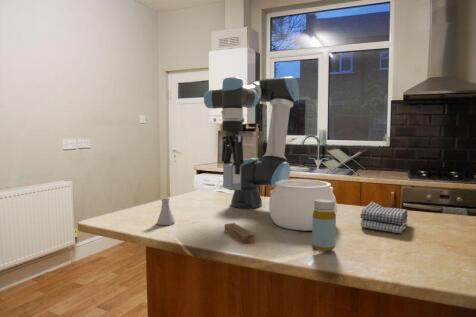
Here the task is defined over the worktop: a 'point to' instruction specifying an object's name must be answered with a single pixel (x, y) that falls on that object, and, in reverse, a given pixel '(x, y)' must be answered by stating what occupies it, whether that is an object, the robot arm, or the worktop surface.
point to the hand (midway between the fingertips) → (231, 181)
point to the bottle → (324, 224)
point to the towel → (383, 218)
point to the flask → (165, 213)
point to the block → (240, 233)
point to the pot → (297, 202)
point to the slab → (230, 178)
